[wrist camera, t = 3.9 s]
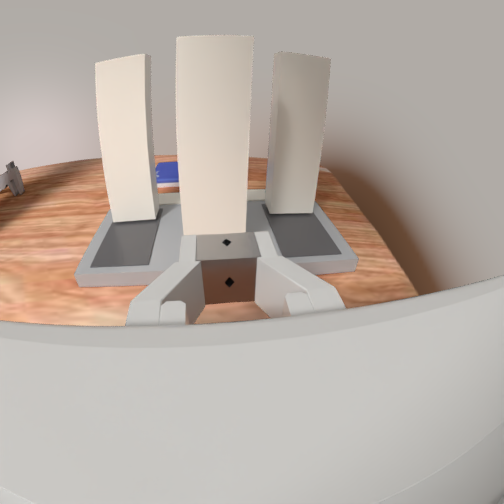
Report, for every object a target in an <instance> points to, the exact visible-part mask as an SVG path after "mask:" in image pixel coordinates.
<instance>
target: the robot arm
mask: <svg viewBox="0 0 504 504" xmlns="http://www.w3.org/2000/svg"><path fill="white" fill-rule="evenodd" d="M251 301H255V303H256V304H257V305H258V306H259V307H260V308H261V309H262V310H263V311H264V312H265V313H266V314H267V315H268V316H269V317H270V318H271V319H261V320H250V321H238V322H224V323H209V324H194V322H195V321H196V319H197V318H198V316H199V315H200V313H201V312H202V310H203V309H204V308H205V305H209V304H220V303H231V302H251ZM0 504H504V275H501V276H498V277H494V278H491V279H487V280H483V281H480V282H476V283H472V284H468V285H464V286H460V287H456V288H452V289H448V290H444V291H439V292H435V293H430V294H425V295H421V296H416V297H411V298H406V299H401V300H395V301H390V302H385V303H379V304H373V305H367V306H361V307H355V308H349V309H346V307H345V305H344V303H343V301H342V299H341V297H340V296H339V294H338V292H337V290H336V288H335V287H334V286H332V285H330V284H329V283H327V282H325V281H324V280H322V279H320V278H319V277H317V276H315V275H314V274H312V273H310V272H309V271H307V270H305V269H304V268H302V267H300V266H298V265H297V264H295V263H293V262H292V261H290V260H288V259H287V258H285V257H283V256H278V254H277V251H276V249H275V246H274V244H273V241H272V239H271V236H270V234H269V232H268V231H257V232H243V233H230V234H199V235H196V234H195V235H183V236H182V238H181V246H180V255H179V262H175V263H174V264H172V265H171V266H170V267H169V268H168V269H167V270H165V271H164V272H163V273H162V274H161V275H160V276H159V277H157V278H156V279H155V280H154V281H153V282H152V283H151V284H150V285H148V286H147V287H146V288H145V289H144V290H143V291H142V292H141V293H140V294H138V295H137V296H136V297H135V298H134V299H133V300H132V301H131V302H130V307H129V311H128V315H127V320H126V324H125V326H76V325H54V324H38V323H25V322H13V321H3V320H0Z"/></svg>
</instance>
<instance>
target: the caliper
mask: <svg viewBox="0 0 504 504" xmlns="http://www.w3.org/2000/svg"><path fill="white" fill-rule="evenodd" d="M6 168H7V170H8V171H7V172H5V173H4V174H2V175H0V191H2V190H3V189H5V188H6V187H7V186H8V187H9V188H10V190H11V191H12V193H13V194H14V196H16V195H18V194H19V193H20V195H21V194H22V193H24V191H25V190H24V186H23V182H22V178H21V175H20V172H19V170H18V167H17V166H16V167H15V165H14V162H13V161H12V162H10V163H9V164H8V165H6Z"/></svg>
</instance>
